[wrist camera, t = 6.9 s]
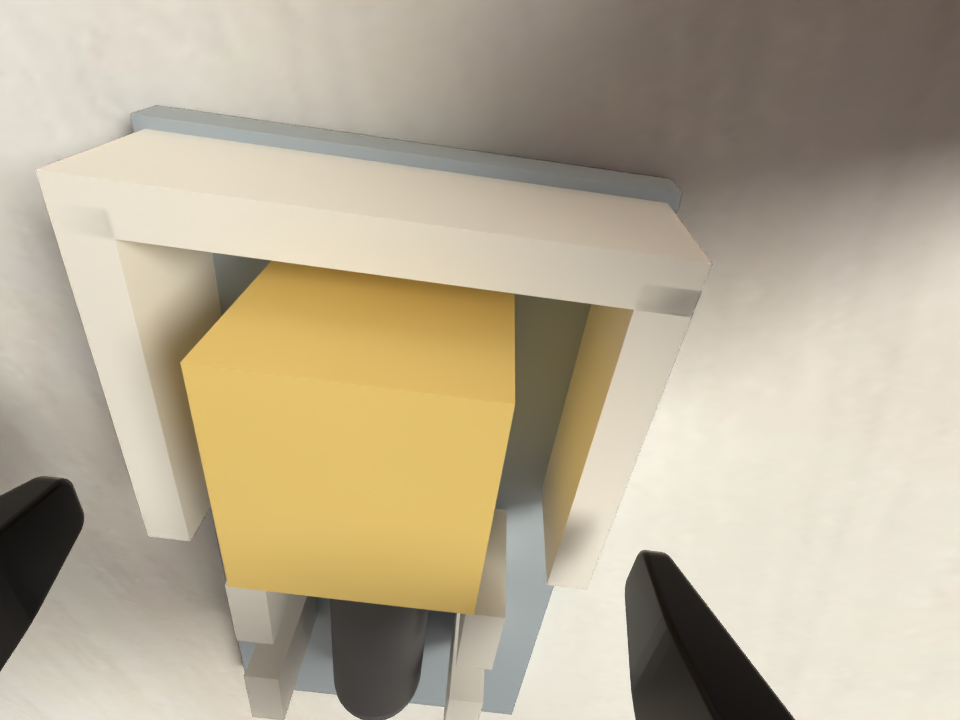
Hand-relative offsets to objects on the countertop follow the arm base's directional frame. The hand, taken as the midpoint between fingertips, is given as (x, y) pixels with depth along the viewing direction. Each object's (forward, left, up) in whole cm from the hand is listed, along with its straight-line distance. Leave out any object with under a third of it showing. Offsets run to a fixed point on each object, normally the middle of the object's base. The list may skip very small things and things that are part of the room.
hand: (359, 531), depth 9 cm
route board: (-4, 0, -4) cm, 6 cm away
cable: (-3, 0, -4) cm, 5 cm away
